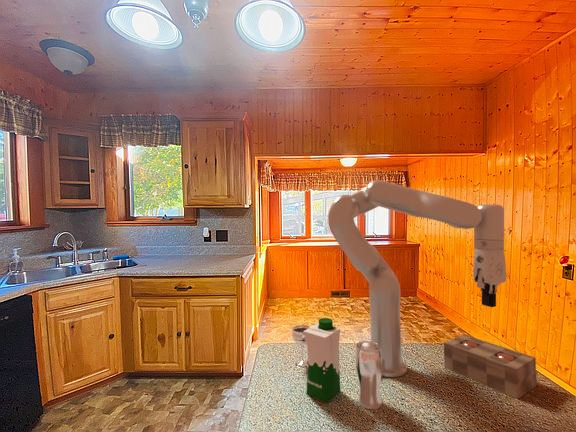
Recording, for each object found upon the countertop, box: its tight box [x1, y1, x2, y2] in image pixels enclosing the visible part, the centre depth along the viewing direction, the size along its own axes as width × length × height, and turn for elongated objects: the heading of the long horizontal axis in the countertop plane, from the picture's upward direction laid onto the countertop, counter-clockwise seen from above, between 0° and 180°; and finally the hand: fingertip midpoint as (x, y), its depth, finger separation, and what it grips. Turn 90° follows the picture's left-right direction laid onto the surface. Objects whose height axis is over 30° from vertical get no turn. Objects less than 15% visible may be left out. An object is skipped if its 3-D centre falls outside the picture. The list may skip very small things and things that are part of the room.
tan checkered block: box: [443, 334, 537, 400], centre depth 89 cm, size 12×20×8 cm, turn 30°
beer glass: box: [354, 340, 383, 410], centre depth 77 cm, size 7×7×15 cm
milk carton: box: [303, 317, 341, 404], centre depth 82 cm, size 9×9×20 cm
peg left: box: [463, 341, 477, 348], centre depth 93 cm, size 4×4×8 cm
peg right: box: [497, 353, 514, 361], centre depth 84 cm, size 4×4×8 cm
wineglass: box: [291, 324, 310, 366], centre depth 99 cm, size 7×7×12 cm
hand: (488, 305), depth 87 cm, fingers closed
